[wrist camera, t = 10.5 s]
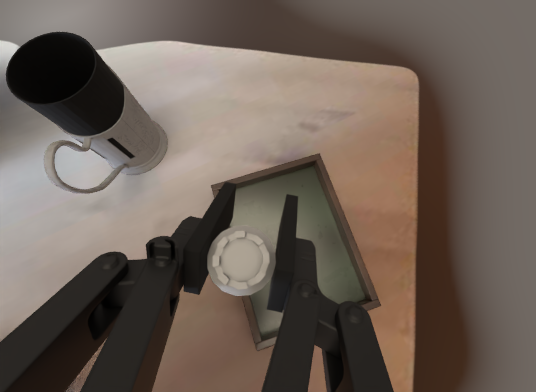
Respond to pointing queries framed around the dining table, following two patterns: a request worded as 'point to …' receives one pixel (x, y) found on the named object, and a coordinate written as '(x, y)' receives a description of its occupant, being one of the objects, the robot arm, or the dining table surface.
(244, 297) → the tray
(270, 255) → the rook chess piece
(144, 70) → the dining table surface
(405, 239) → the dining table surface
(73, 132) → the glass holder
